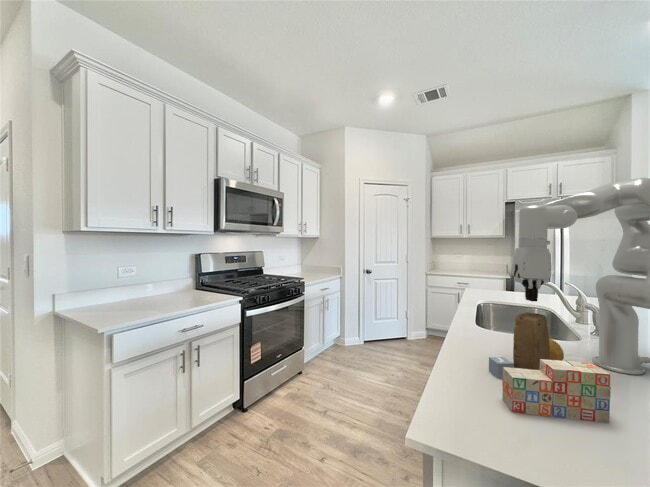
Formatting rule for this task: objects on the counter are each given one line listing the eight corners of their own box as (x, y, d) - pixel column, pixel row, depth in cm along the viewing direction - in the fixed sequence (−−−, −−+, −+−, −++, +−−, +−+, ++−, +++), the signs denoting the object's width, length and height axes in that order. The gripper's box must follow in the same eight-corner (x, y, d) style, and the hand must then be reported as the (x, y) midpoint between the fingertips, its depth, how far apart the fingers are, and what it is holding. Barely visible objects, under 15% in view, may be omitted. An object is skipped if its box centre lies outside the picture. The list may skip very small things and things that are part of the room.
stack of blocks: (511, 413, 74) (512, 365, 73) (502, 399, 80) (502, 355, 79) (610, 424, 69) (611, 373, 69) (592, 409, 75) (592, 362, 75)
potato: (554, 343, 96) (567, 336, 101) (512, 334, 108) (525, 328, 112) (557, 371, 96) (570, 363, 101) (515, 359, 108) (528, 352, 113)
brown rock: (536, 384, 88) (537, 319, 87) (510, 374, 94) (510, 313, 94) (552, 375, 93) (553, 314, 93) (527, 366, 99) (527, 309, 99)
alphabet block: (503, 371, 96) (503, 356, 96) (513, 379, 91) (513, 362, 91) (488, 371, 96) (488, 356, 96) (497, 379, 91) (497, 362, 91)
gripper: (546, 244, 96) (545, 298, 97) (502, 243, 97) (501, 297, 97) (565, 244, 89) (564, 303, 89) (517, 244, 89) (515, 302, 89)
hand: (531, 300), depth 93 cm, fingers closed
